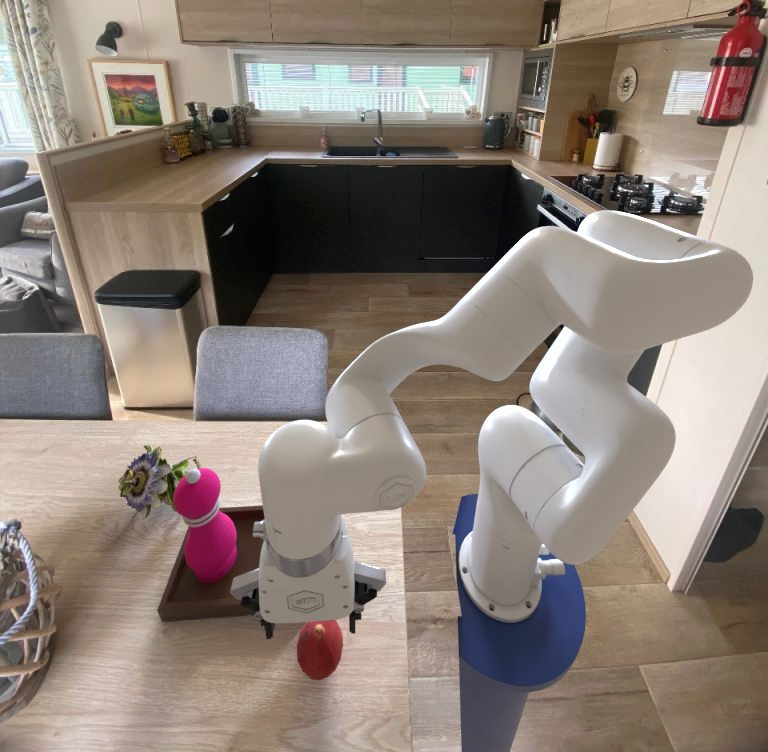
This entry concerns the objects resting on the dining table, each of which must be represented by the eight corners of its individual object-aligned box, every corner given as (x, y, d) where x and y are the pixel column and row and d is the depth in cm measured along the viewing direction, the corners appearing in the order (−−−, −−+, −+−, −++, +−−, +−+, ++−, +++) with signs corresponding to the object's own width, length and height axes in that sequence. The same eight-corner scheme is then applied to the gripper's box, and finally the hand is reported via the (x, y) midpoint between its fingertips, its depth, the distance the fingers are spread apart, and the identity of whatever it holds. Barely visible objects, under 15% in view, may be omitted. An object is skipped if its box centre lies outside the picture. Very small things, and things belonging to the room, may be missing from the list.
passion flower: (147, 529, 71) (97, 488, 68) (192, 471, 79) (150, 432, 76) (171, 536, 64) (116, 491, 61) (218, 472, 72) (172, 429, 69)
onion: (292, 687, 49) (286, 654, 46) (307, 627, 54) (302, 595, 51) (337, 696, 48) (335, 664, 45) (348, 635, 53) (346, 602, 50)
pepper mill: (230, 587, 57) (207, 498, 50) (181, 588, 57) (150, 498, 50) (246, 534, 64) (228, 448, 56) (202, 534, 64) (178, 448, 56)
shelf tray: (323, 512, 68) (323, 501, 67) (316, 610, 56) (315, 598, 55) (198, 520, 67) (194, 509, 66) (161, 622, 54) (156, 610, 53)
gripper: (207, 577, 36) (230, 669, 43) (390, 567, 38) (386, 657, 44) (231, 497, 43) (248, 587, 50) (385, 491, 44) (382, 579, 51)
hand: (312, 620), depth 47 cm, fingers open, 9 cm apart
